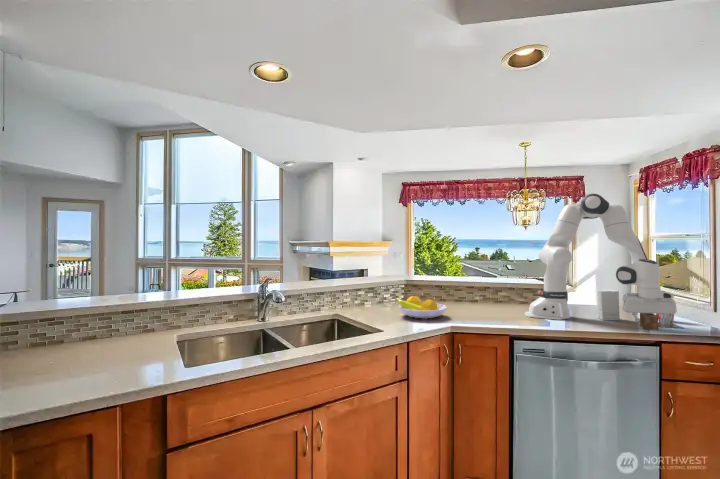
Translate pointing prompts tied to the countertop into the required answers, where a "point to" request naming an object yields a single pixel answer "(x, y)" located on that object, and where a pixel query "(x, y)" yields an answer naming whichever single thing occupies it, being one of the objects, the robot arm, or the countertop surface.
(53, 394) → the countertop surface
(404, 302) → the fruit bowl
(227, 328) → the countertop surface
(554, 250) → the robot arm
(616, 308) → the skincare box
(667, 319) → the square metal plate
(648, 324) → the shipping carton
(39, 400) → the countertop surface
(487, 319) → the countertop surface
